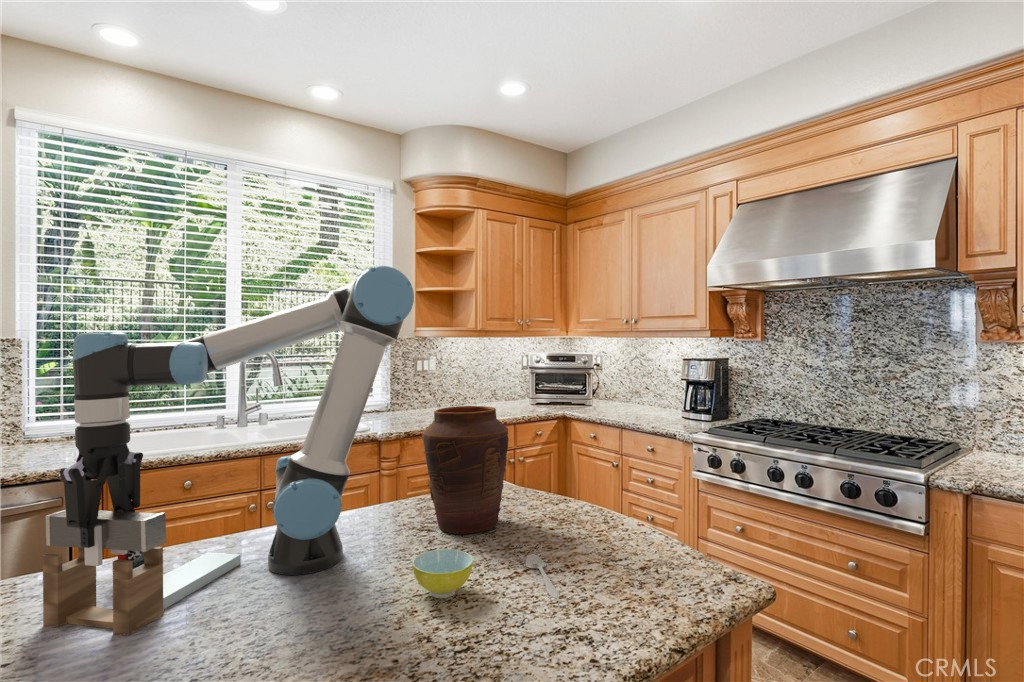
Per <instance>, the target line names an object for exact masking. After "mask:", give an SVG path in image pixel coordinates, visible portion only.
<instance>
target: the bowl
mask: <svg viewBox="0 0 1024 682" xmlns="http://www.w3.org/2000/svg"><path fill="white" fill-rule="evenodd" d="M411 564H412V571H413V574H414V577H415V579H416V581H417V583H418V584H419V585H420V586H421V587H422V588H423V589H425V590H426V591H428V592H430V595H431V596H432V597H433V598H436V599H447V598H451V597H452V596H454V595H455V593H456V591H457V590H458V589H460V588H462V586H464V585H465V583H467V581H468V579H469V578H470V576H471V573H472V570H473V568H474V567H473V566H474V558H473V556H472V555H471V554H470V553H468V552H466V551H463V550H460V549H453V548H444V549H434V550H433V549H431V550H429V551H425V552H423V553H420V554H418V555H417V556H415V557H414V558H413V560H412V563H411Z"/></svg>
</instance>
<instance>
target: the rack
mask: <svg viewBox="0 0 1024 682" xmlns="http://www.w3.org/2000/svg"><path fill="white" fill-rule="evenodd" d="M163 575H164V548H163V546H158V547H155V548H153V549H151V550H149V551H146V552H144V564H143V565H141V566H139V567H136V568H134V569H133V561H129V560H118V559H115V560H112V607H104V606H103V607H101V606H97V566H90V565H85V551H84V548H80V547H77V558H75V559H72V560H70V561H68V562H67V561H66V562H65V563H63V554H54V553H46V554H44V555H42V605H43V606H42V614H43V616H42V617H43V619H42V620H43V622H42V623H43V624H42V626H43V627H51V628H60V627H61V626H64V625H66V624H70V625H79V626H89V627H97V628H107V629H113V630H112V634H114V635H120V636H130V635H133V634H134V633H135V632H137V631H139V630H140V629H142V628H144V627H146V626H148V625H149V624H151V623H152V622H154V621H156V620H157V619H159V618H160V617H162V616H163V615H164V610H163Z"/></svg>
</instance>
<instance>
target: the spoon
mask: <svg viewBox="0 0 1024 682" xmlns="http://www.w3.org/2000/svg"><path fill="white" fill-rule="evenodd" d="M533 565H537V566H533ZM525 566H526V567H527V568H530V569H537V570H539V572H540V573H541V576H542V578H543V581H544V585H545V588H546V590H547V593H548V595H549V596H550V597H552V598H556V599H557V598H559V597H560V593H559V591H558V590H557V588H556V587H555V585H554V583H553V582H552V581H551V579H550V578H549V577H548V575H547V574H546V572H545V570H544V567H547V564H546V562H544V560H543V559H542V558H540V556H539V555H536V554H533V553H531V554H529V555H527V557H526V559H525Z"/></svg>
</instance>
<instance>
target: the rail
mask: <svg viewBox="0 0 1024 682" xmlns="http://www.w3.org/2000/svg"><path fill="white" fill-rule="evenodd" d="M87 520H88V519H87ZM96 525H101V528H102V550H111V549H112V550H128V551H142V552H146V551H149V550H151V549H153V548H155V547H157V546H158V547H160V546H161V545H164V544H165V543H167V527H166V526H167V523H166V512H146V511H145V512H143V511H141V512H139V511H135V512H124V511H114V510H101V509H99V512H98V518H97V524H96ZM45 540H46V546H47V547H49V546H50V547H51V546H52V547H65V548H78V547H80V548H83V547H82V546H81V534H80V528H76V527H68V526H67V520H66V509H63V510H60V511H56V512H53V513H50V514H47V515H45Z"/></svg>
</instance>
